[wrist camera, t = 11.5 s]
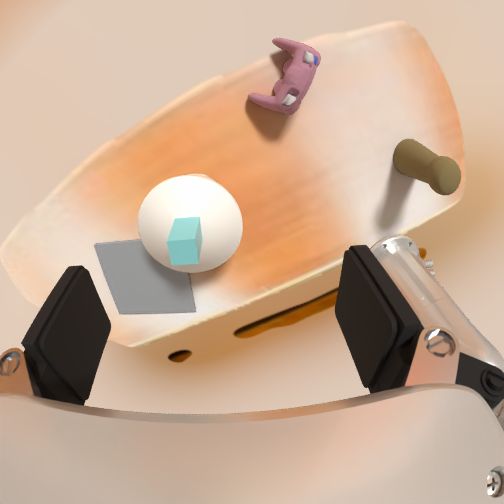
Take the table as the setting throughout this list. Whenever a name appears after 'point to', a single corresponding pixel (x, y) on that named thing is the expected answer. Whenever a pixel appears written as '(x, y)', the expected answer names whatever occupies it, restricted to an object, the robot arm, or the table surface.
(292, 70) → the video game controller
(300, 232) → the table surface
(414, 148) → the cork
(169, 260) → the lid
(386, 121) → the table surface
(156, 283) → the mat
